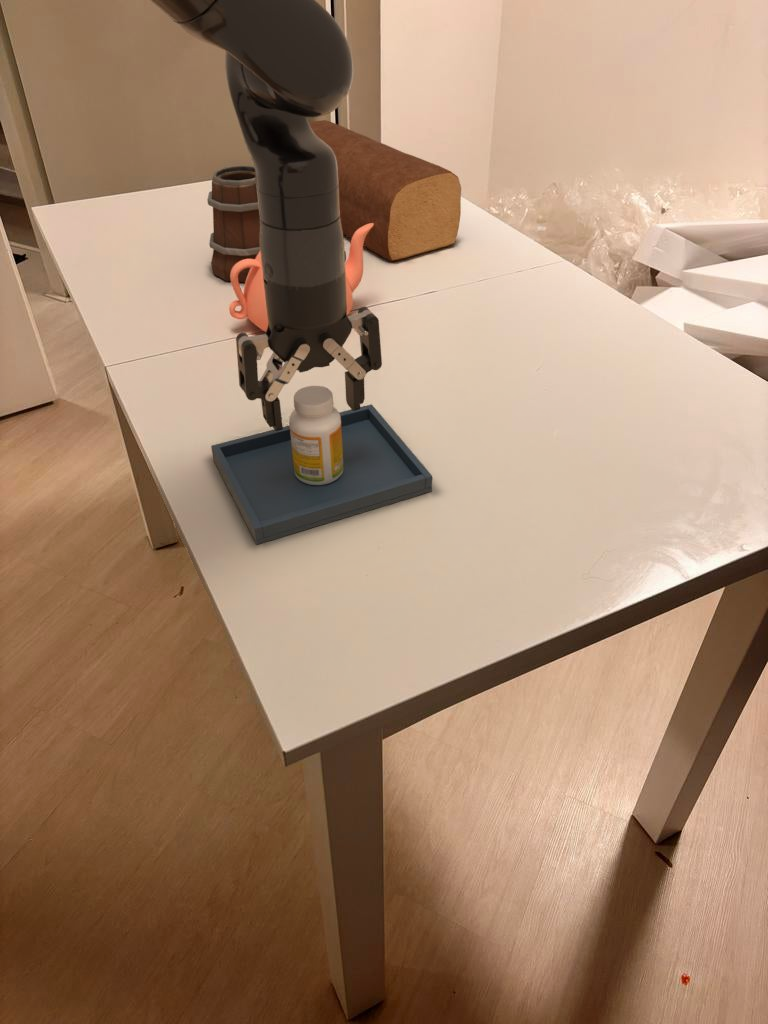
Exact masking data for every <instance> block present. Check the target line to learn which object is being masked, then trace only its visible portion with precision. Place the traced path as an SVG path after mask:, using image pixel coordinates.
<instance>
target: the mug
mask: <svg viewBox="0 0 768 1024" xmlns="http://www.w3.org/2000/svg"><path fill="white" fill-rule="evenodd" d="M207 205H208V206H210V207H212V223H213V225H212V226H213V232H212V233H210V237H209V243H208V244H209V248H210V249H212V255H211V256H212V257H211V262H210V263H211V270H212V274H213V275H215V276H217V277H218V278H220V279H222V280H224V281H226V282H227V281H228V282H231V279H230V273H231V270H232V268H233V266H234V265H235V264H236V263H238V262H239V261H241V260H244V259H255V258H256V256H257V255H258V253H259V252H260V216H259V208H258V199H257V189H256V178H255V168H254V165H253V166H252V165H233V166H225V167H222V168H220V169H218V170H215V171H214V172H213V175H212V179H211V191H208V195H207ZM250 268H251V267H249V268H245V269H243V270H242V271H240V273H239V274H238V282H239V283H245V282H246V278H247V276H248V273H249V271H250Z"/></svg>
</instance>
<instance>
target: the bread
mask: <svg viewBox="0 0 768 1024" xmlns="http://www.w3.org/2000/svg"><path fill="white" fill-rule="evenodd" d="M309 125H310V127H311V129H312V131H313V132H314V133H315V135H316V136H317V137H318V138H320V139H321V140H322V141H323V142H325V143H326V144H327V145H328V146H329V147H330V148H331V149H332V150H333V152H334V154H335V156H336V160H337V166H338V178H339V198H340V218H341V226H342V231H343V236H345V237H346V238H348V239H350V240H352V237H353V235H354V233H355V232H356V231H357V230H358V229H359V228H361V227H362V226H364V225H366V224H369V223H373V224H374V225H373V227H372V228H371V229H370V230H369V232H368V233H367V235H366V237H365V239H364V243H363V247H365V248H367V249H368V250H370V251H372V252H373V253H375V254H377V255H379V256H381V257H382V258H384V259H386V260H387V261H390V262H393V261H401V260H404V259H408V258H411V257H414V256H418V255H421V254H424V253H428V252H431V251H432V252H433V251H435V250H438V249H442V248H446V247H449V246H451V245H454V244H456V241H457V237H458V233H459V228H460V223H461V213H462V211H461V209H462V208H461V207H462V204H461V203H462V202H461V201H462V200H461V199H462V186H461V181H460V178H459V176H457V175H456V174H455V173H453V172H452V171H451V170H448V169H446V168H445V167H443V166H441V165H438V164H436V163H433V162H430V161H427V160H425V159H423V158H420V157H418V156H415V155H412V154H409V153H406V152H403V151H401V150H398V149H397V148H394V147H392V146H390V145H387V144H385V143H382V142H380V141H377V140H374V139H372V138H370V137H369V136H367V135H364V134H361V133H358V132H356V131H354V130H352V129H349V128H347V127H344V126H342V125H339V124H338V123H335V122H332V121H330V120H327V119H323V120H315V121H311V122H309Z"/></svg>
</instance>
